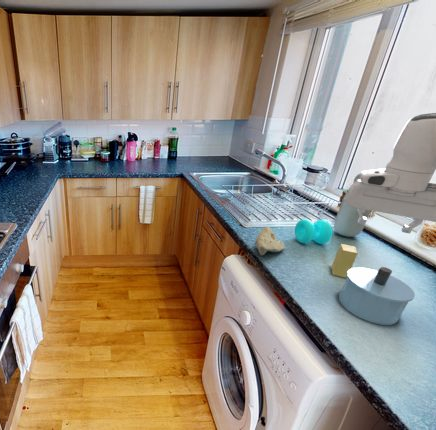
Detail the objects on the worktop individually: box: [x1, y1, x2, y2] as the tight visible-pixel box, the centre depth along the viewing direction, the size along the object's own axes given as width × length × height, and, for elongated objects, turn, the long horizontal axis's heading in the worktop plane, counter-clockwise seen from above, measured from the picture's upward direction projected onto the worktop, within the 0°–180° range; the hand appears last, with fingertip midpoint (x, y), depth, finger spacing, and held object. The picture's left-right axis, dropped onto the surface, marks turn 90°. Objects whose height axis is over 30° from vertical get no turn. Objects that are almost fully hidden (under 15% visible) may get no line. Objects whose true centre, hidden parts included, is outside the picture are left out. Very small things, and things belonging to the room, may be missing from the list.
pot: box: [338, 278, 409, 326], centre depth 83 cm, size 14×14×8 cm
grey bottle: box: [333, 173, 372, 238], centre depth 120 cm, size 10×10×28 cm
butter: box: [330, 243, 358, 279], centre depth 98 cm, size 4×5×10 cm
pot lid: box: [346, 266, 416, 303], centre depth 80 cm, size 15×15×6 cm
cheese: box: [254, 226, 286, 256], centre depth 111 cm, size 15×7×15 cm
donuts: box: [294, 218, 333, 245], centre depth 118 cm, size 10×10×10 cm
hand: (382, 227), depth 79 cm, fingers open, 8 cm apart
